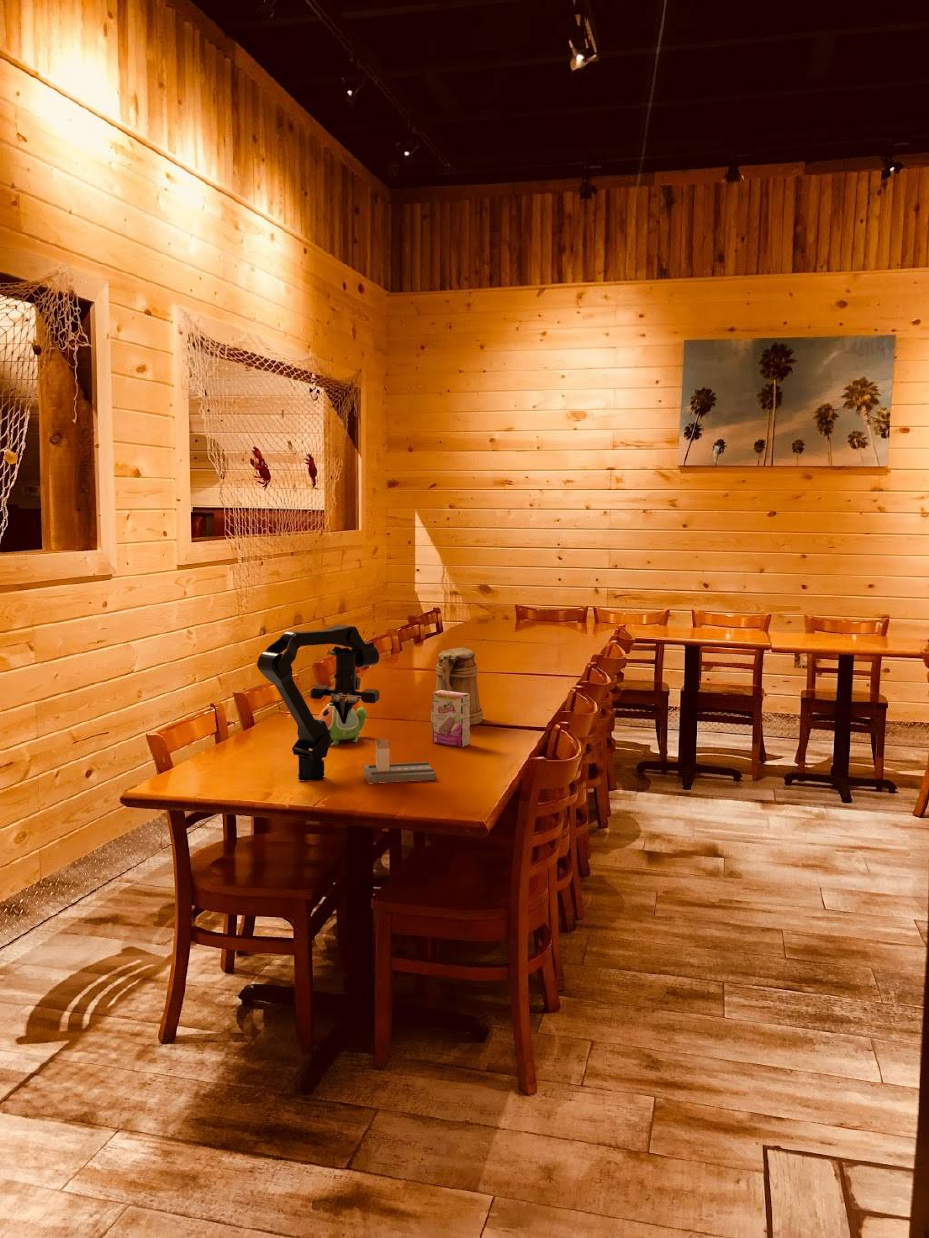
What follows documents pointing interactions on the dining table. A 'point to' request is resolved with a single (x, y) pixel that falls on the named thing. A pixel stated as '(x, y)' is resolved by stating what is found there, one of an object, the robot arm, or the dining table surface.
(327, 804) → the dining table surface
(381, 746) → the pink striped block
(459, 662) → the tankard
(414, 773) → the toy road segment
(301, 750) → the robot arm
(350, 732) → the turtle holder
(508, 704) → the dining table surface
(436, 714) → the candy bar box
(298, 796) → the dining table surface
